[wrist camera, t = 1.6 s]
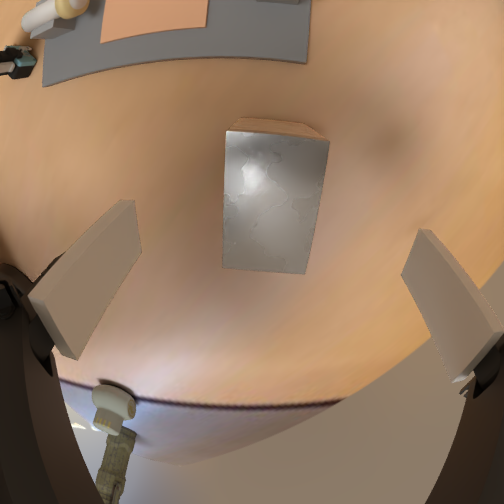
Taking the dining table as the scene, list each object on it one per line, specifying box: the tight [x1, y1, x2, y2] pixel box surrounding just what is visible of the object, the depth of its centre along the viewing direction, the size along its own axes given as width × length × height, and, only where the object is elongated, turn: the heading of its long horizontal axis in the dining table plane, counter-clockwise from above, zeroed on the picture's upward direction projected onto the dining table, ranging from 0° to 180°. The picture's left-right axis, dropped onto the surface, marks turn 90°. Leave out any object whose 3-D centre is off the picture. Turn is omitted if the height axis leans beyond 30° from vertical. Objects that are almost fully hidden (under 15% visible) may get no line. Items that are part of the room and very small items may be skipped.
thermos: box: [96, 426, 136, 504], centre depth 50 cm, size 9×12×35 cm
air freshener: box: [92, 385, 136, 436], centre depth 43 cm, size 11×8×10 cm
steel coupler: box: [222, 117, 330, 274], centre depth 18 cm, size 5×8×9 cm, turn 176°
